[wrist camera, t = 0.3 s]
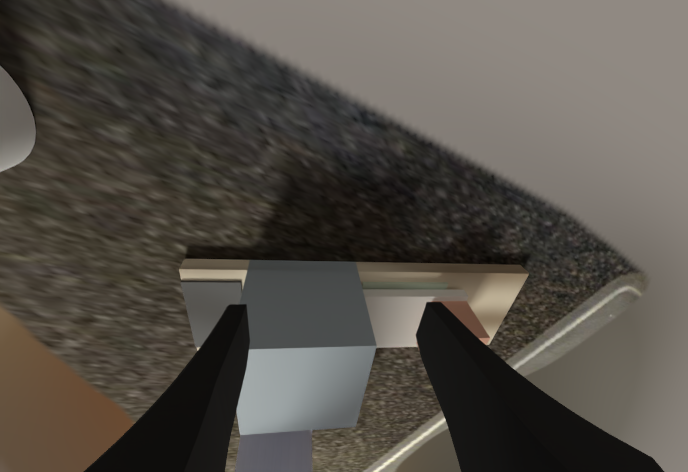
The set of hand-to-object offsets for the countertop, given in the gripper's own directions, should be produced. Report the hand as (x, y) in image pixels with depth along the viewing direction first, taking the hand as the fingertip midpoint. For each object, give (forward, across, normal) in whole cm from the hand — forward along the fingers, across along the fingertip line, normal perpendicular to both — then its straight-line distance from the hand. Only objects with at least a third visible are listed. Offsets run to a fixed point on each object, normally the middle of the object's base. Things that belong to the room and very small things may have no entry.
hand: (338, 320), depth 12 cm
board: (+10, -4, +9) cm, 14 cm away
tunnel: (+10, +1, +9) cm, 14 cm away
